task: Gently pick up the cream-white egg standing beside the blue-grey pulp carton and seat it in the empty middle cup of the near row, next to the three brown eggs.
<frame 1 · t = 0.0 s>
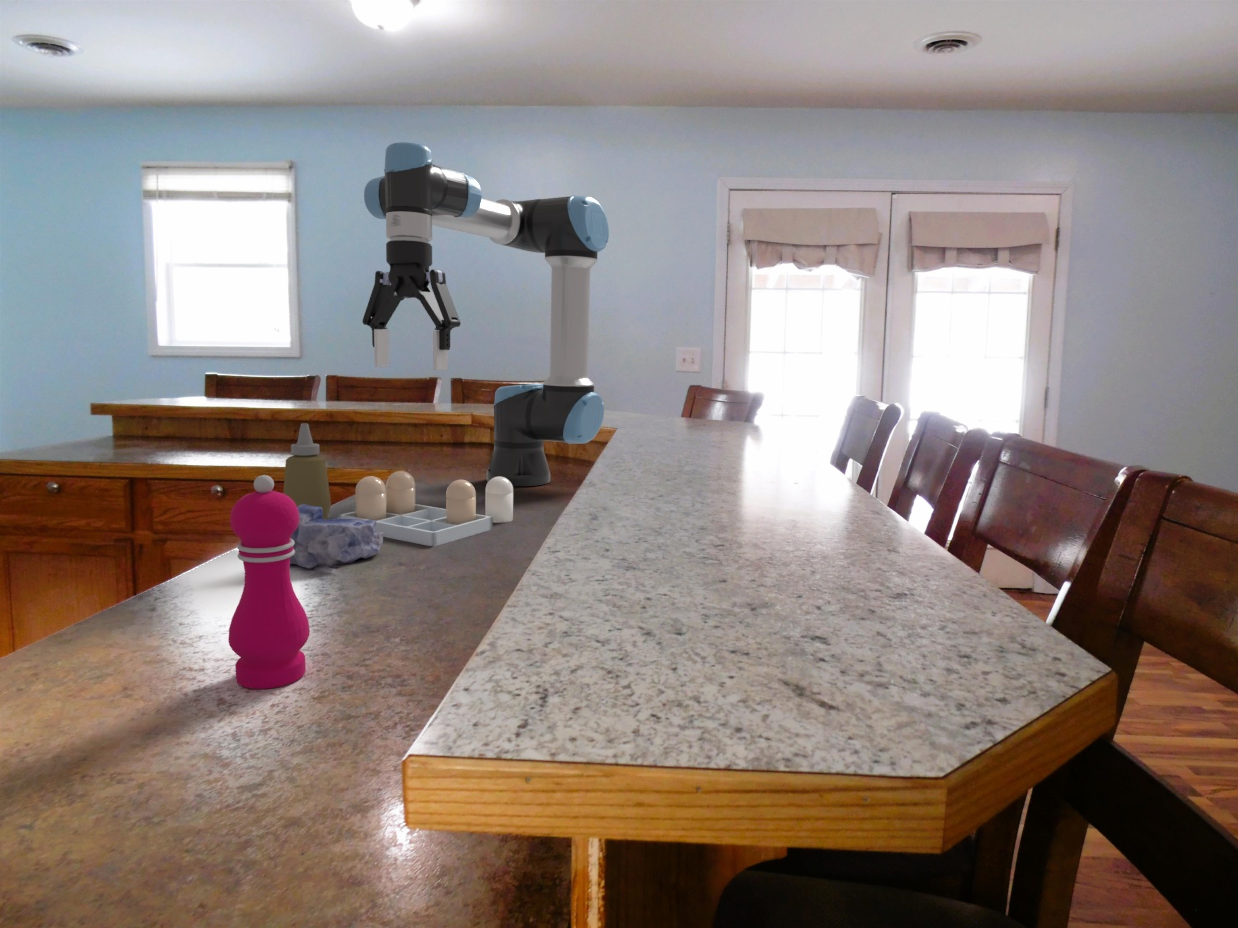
hand: (410, 368, 136), 28 cm above the countertop, fingers open, 13 cm apart
egg: (499, 523, 145), on the countertop
mineral: (329, 565, 117), on the countertop
brown egg b: (461, 530, 136), point 1 cm above the countertop, touching carton
brown egg c: (371, 526, 137), point 1 cm above the countertop, touching carton
carton: (416, 532, 136), on the countertop
pepper mill: (271, 677, 78), on the countertop
brown egg a: (401, 519, 143), point 1 cm above the countertop, touching carton
squeeze bottle: (307, 526, 139), on the countertop
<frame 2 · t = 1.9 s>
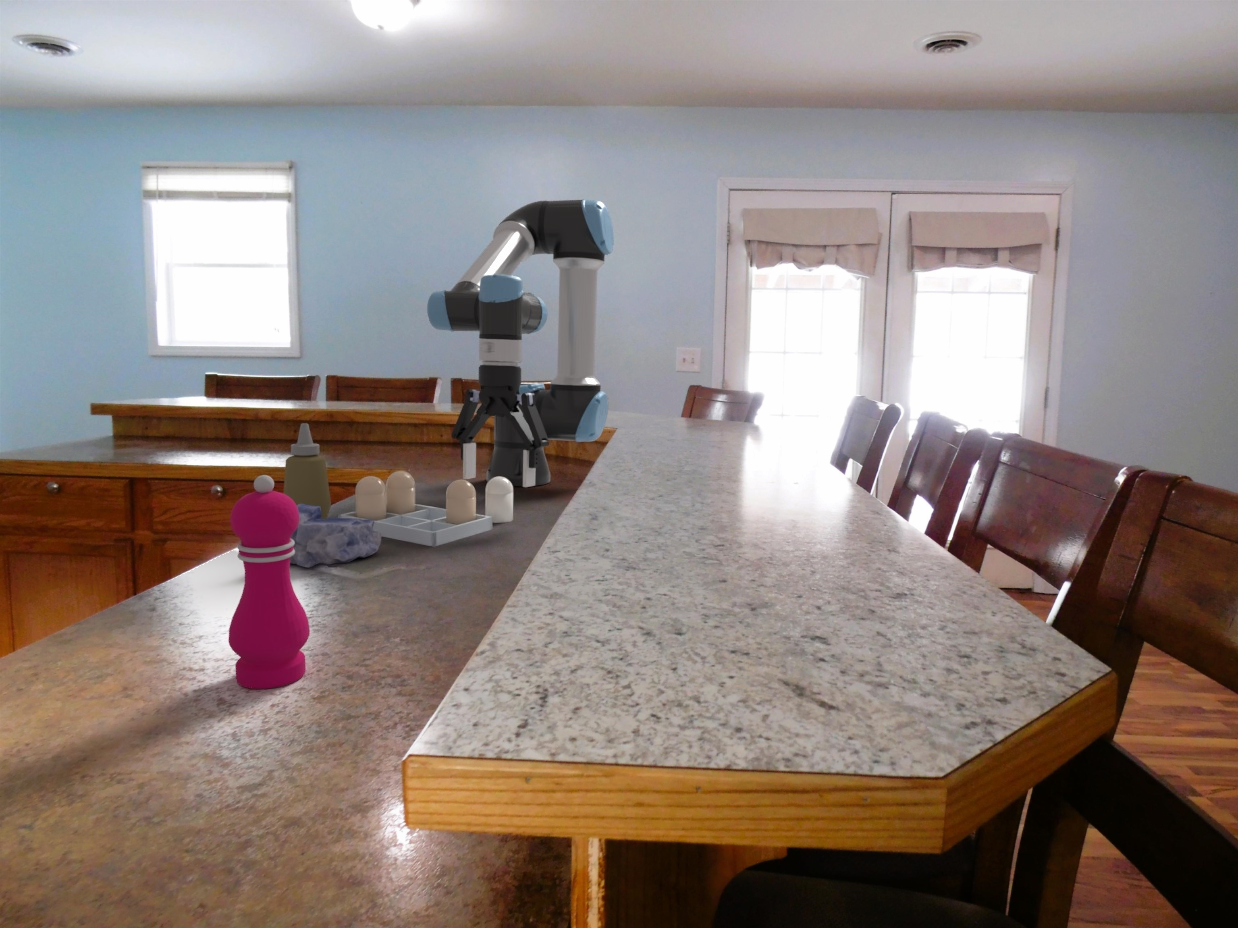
hand: (498, 482, 143), 8 cm above the countertop, fingers open, 13 cm apart
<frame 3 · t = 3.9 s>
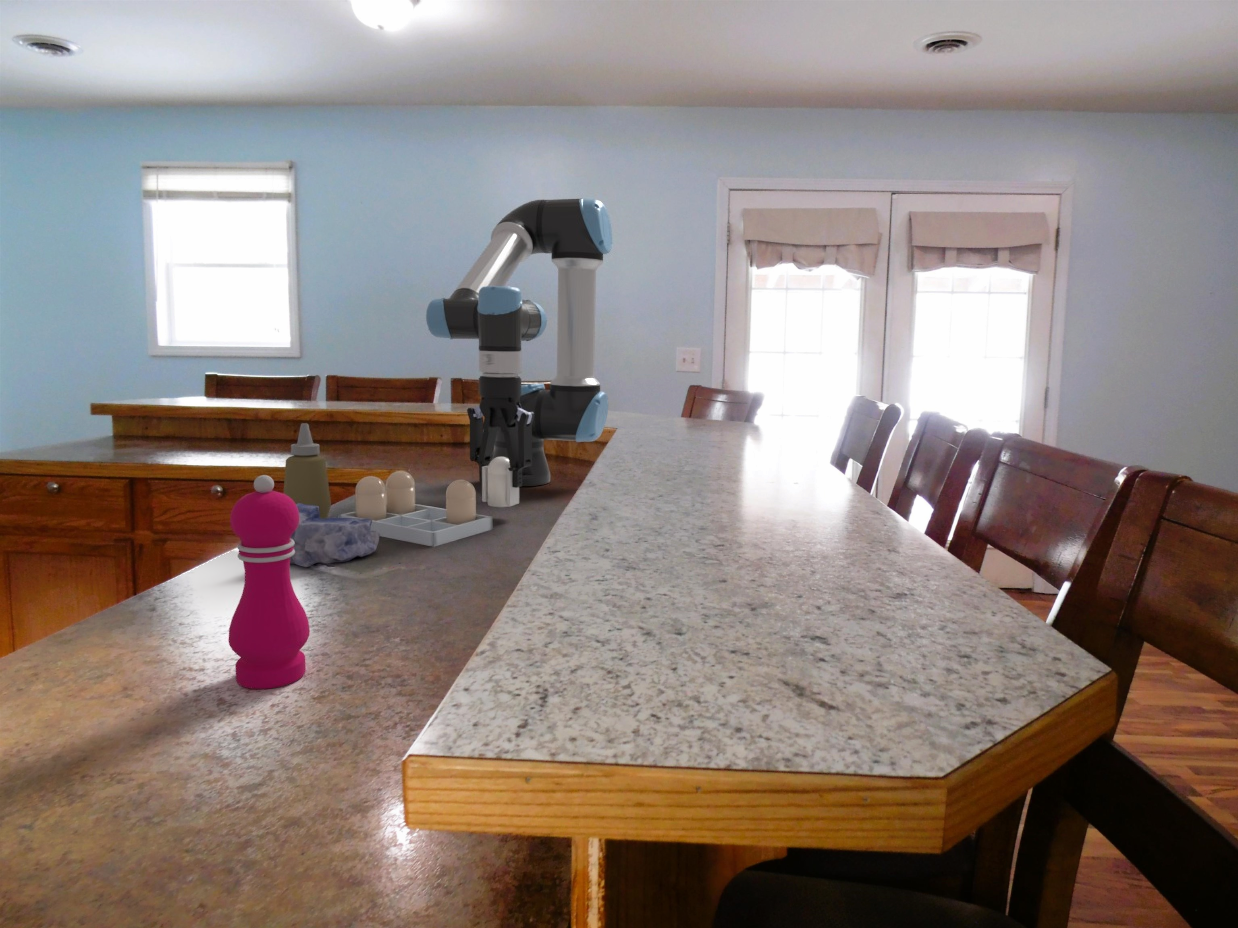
hand: (500, 502, 145), 4 cm above the countertop, fingers closed on egg, 5 cm apart
egg: (501, 503, 145), point 4 cm above the countertop, touching gripper
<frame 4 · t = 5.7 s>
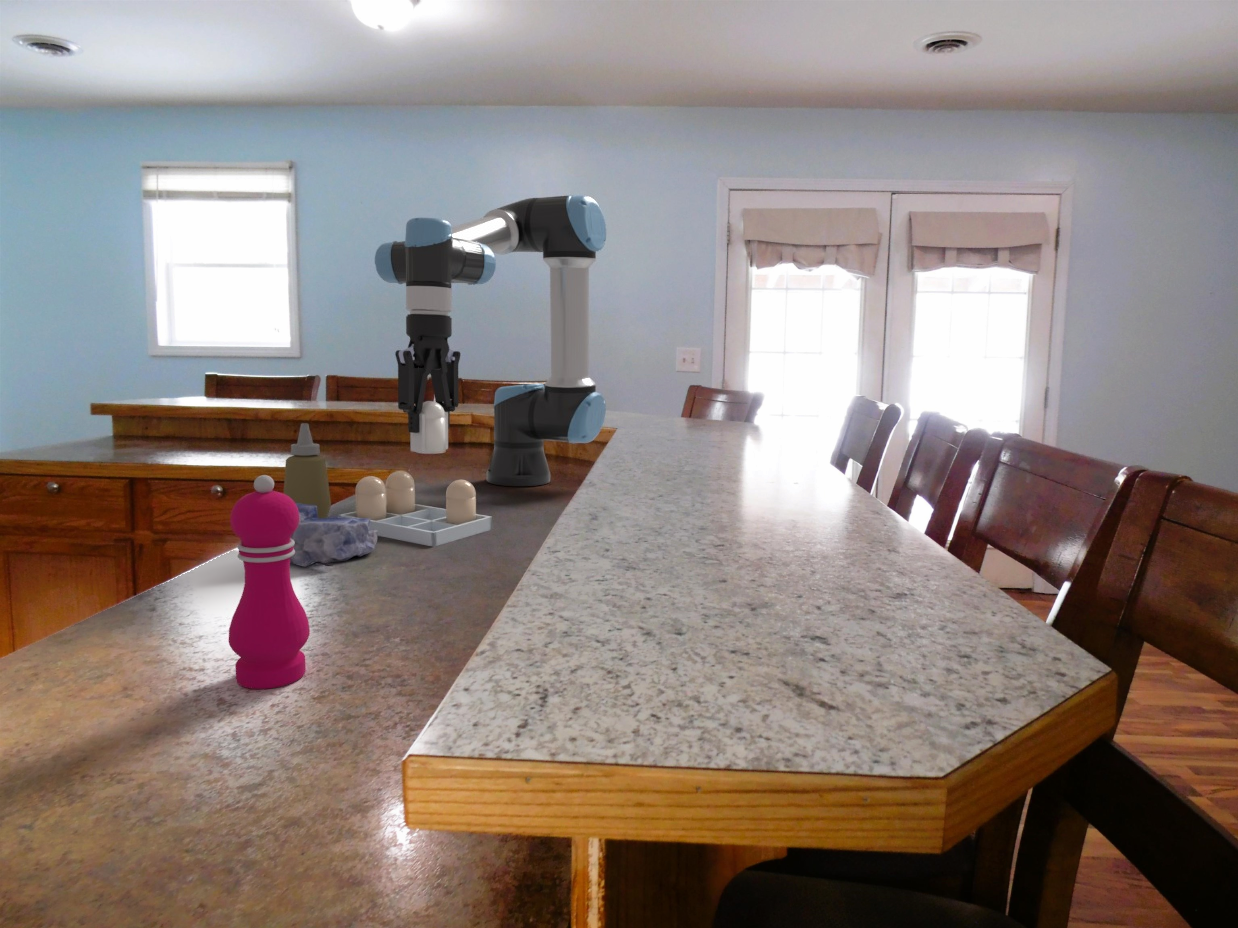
hand: (429, 449, 137), 14 cm above the countertop, fingers closed on egg, 5 cm apart
egg: (430, 451, 137), point 14 cm above the countertop, touching gripper
when the fingers open (3 cm above the countertop, at t = 7.8 s): egg stays where it is, point 3 cm above the countertop.
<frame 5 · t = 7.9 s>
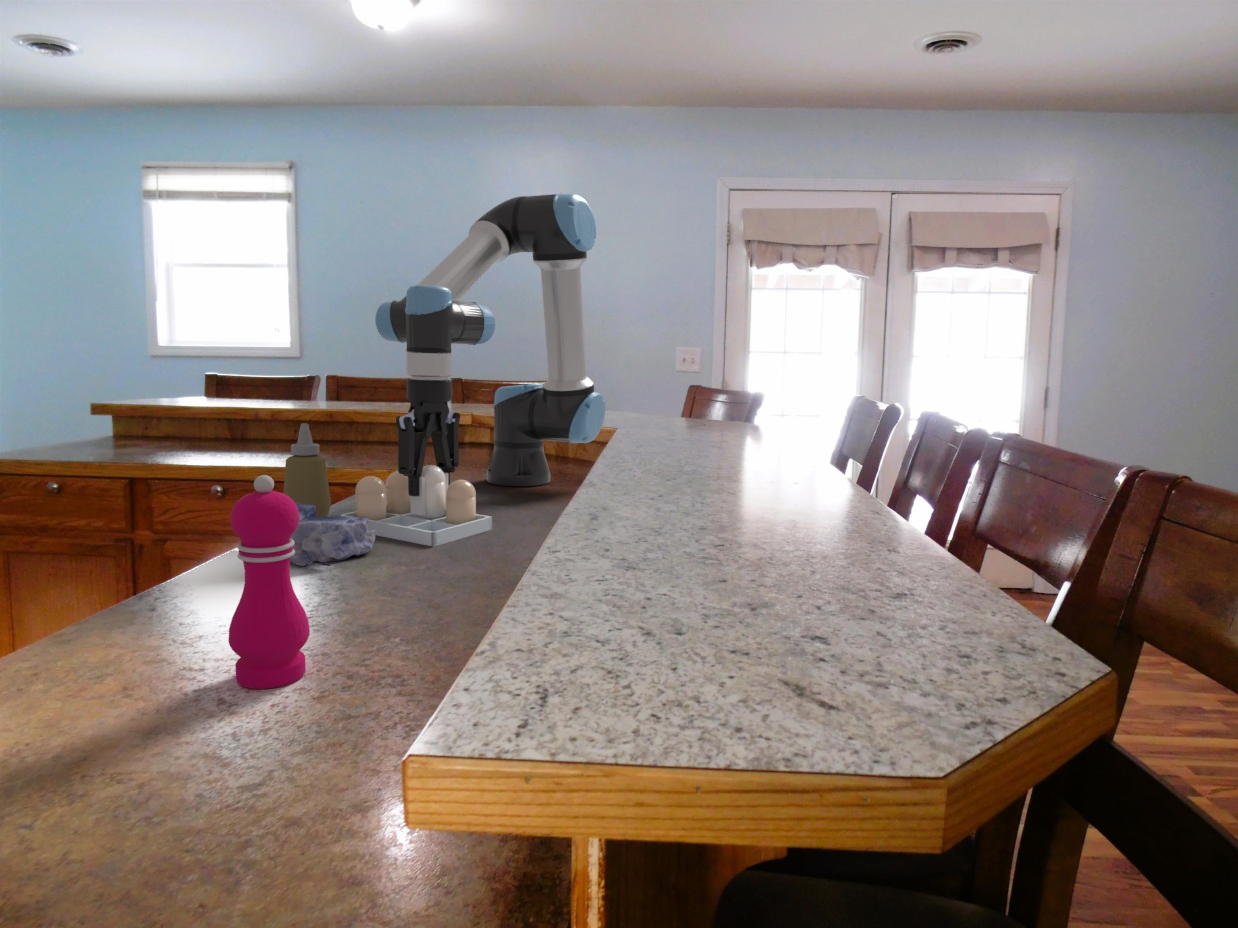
hand: (429, 510, 139), 3 cm above the countertop, fingers open, 5 cm apart
egg: (431, 514, 139), point 3 cm above the countertop
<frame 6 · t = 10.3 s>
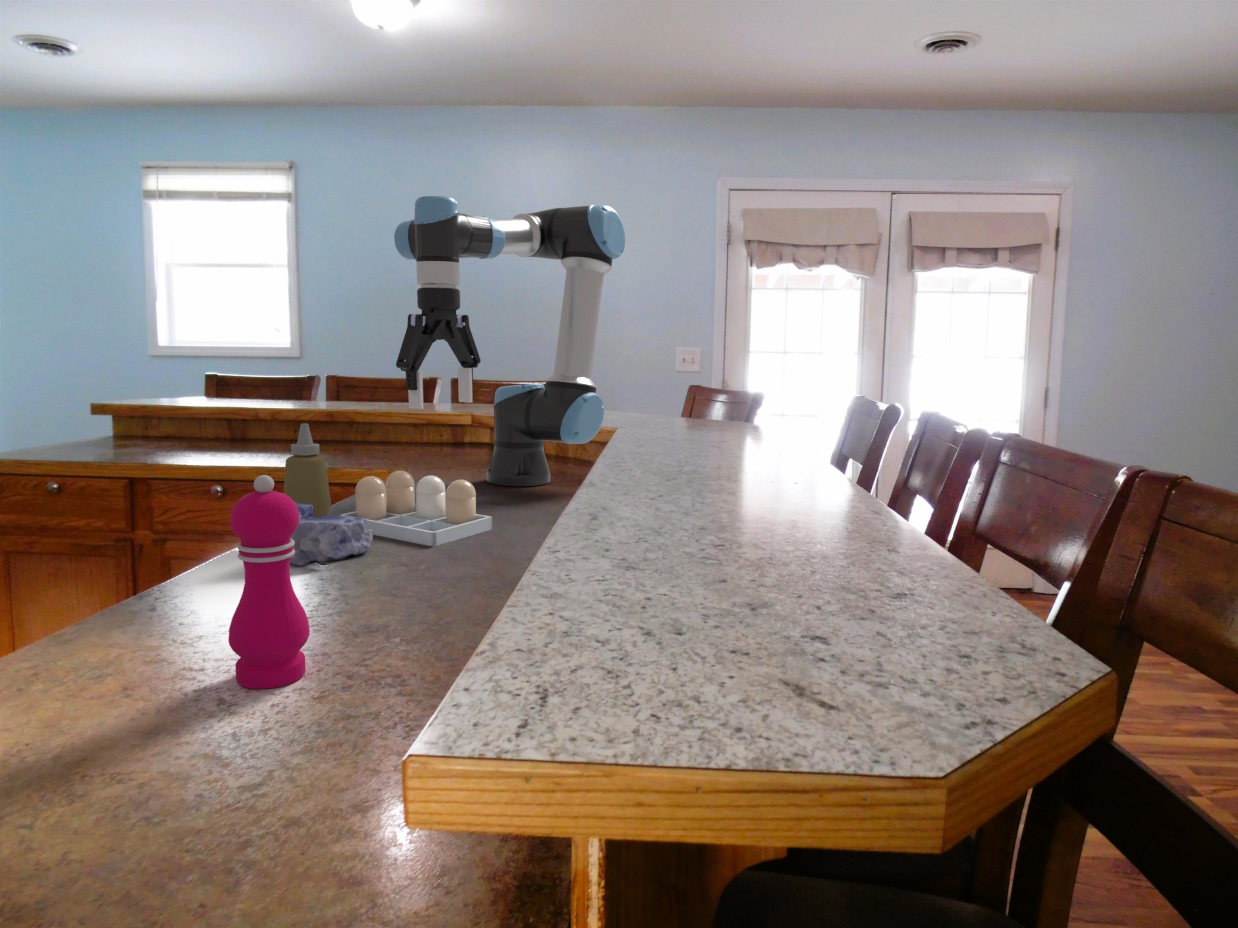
hand: (441, 405, 146), 21 cm above the countertop, fingers open, 13 cm apart
egg: (431, 524, 139), point 1 cm above the countertop, touching carton
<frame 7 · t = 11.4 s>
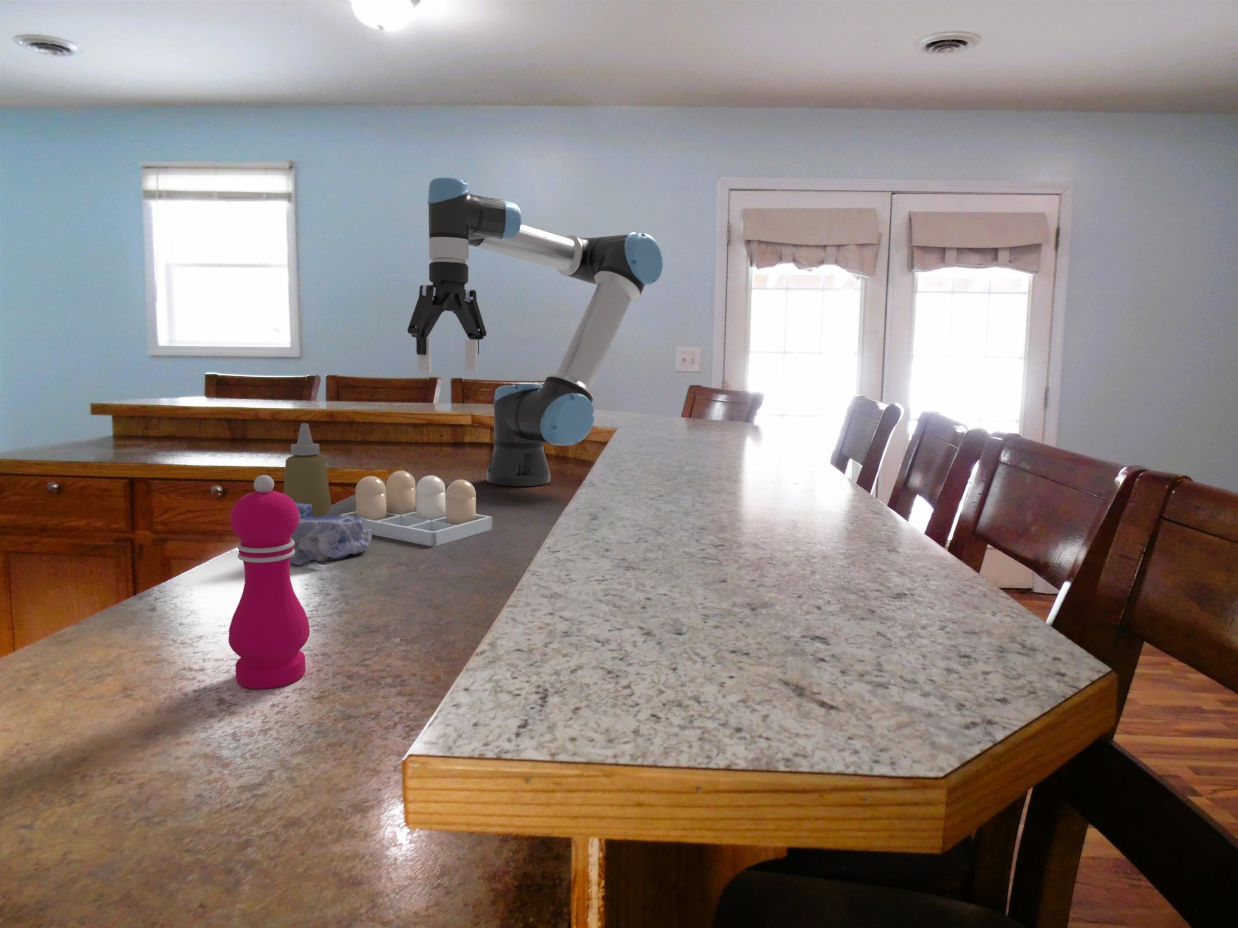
hand: (449, 372, 157), 27 cm above the countertop, fingers open, 13 cm apart
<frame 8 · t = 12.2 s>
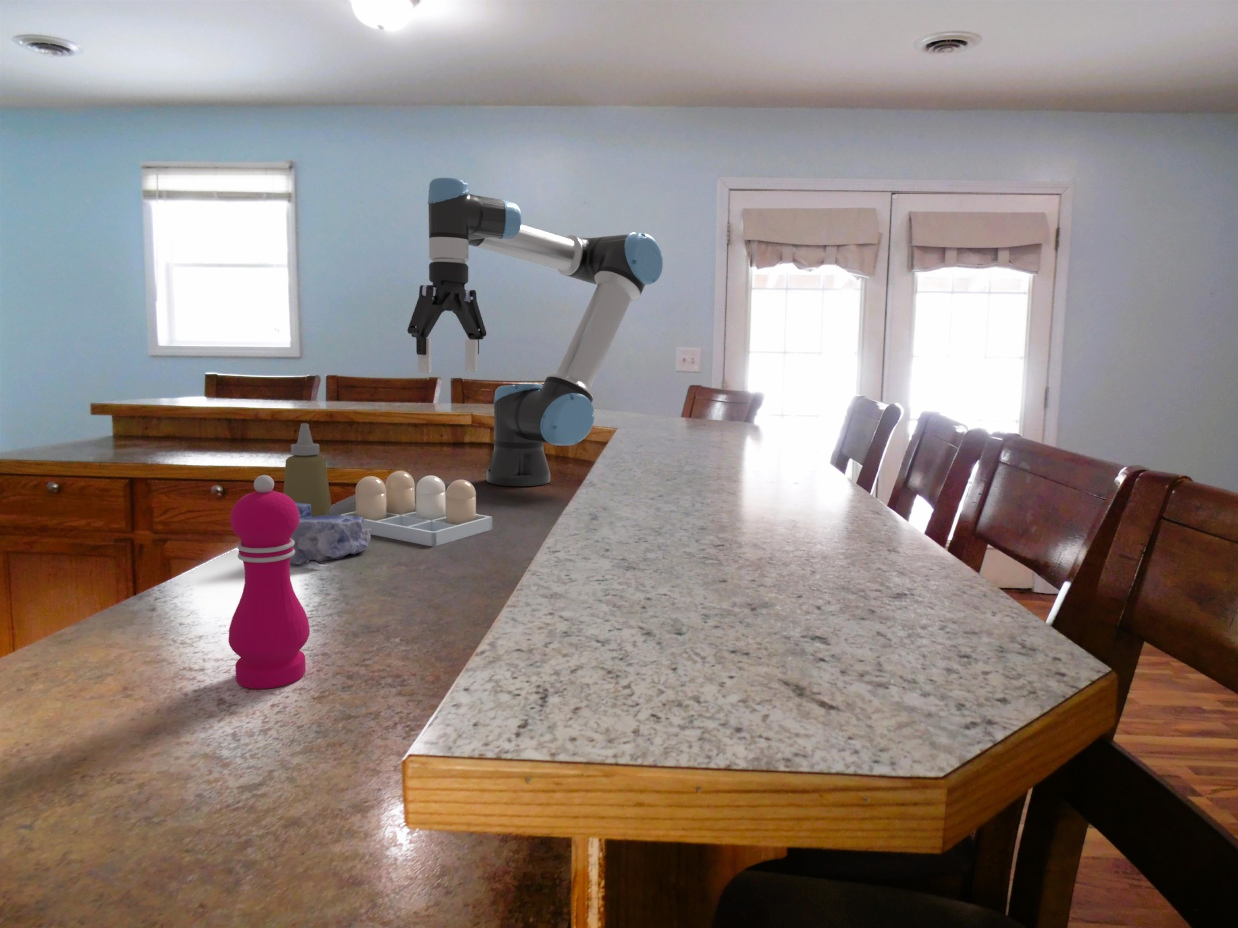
hand: (449, 372, 157), 27 cm above the countertop, fingers open, 13 cm apart
at the end: egg 0.3 cm from the target spot on the carton, point 0.8 cm above the carton's base; egg tilted 0°; the gripper is holding nothing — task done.
